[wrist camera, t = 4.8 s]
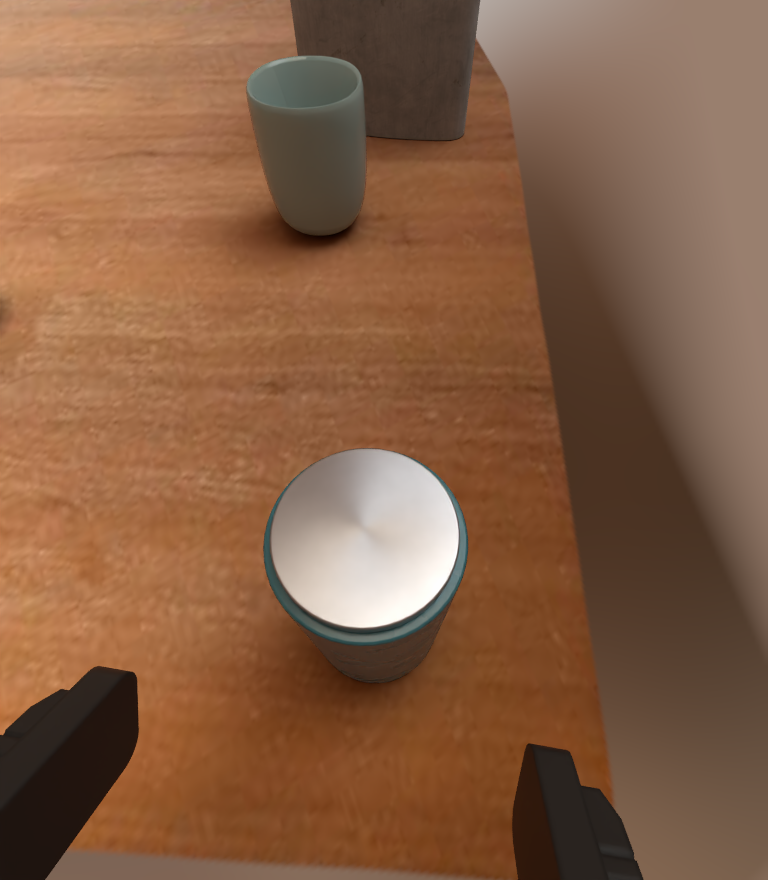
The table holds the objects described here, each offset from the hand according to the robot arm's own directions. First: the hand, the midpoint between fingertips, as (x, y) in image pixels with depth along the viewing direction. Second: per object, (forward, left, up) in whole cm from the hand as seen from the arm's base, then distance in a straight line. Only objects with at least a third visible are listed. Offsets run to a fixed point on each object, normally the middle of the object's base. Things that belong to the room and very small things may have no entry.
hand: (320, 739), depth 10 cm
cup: (-10, -35, -13) cm, 39 cm away
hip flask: (-20, -47, -13) cm, 53 cm away
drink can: (-3, -4, -13) cm, 14 cm away
